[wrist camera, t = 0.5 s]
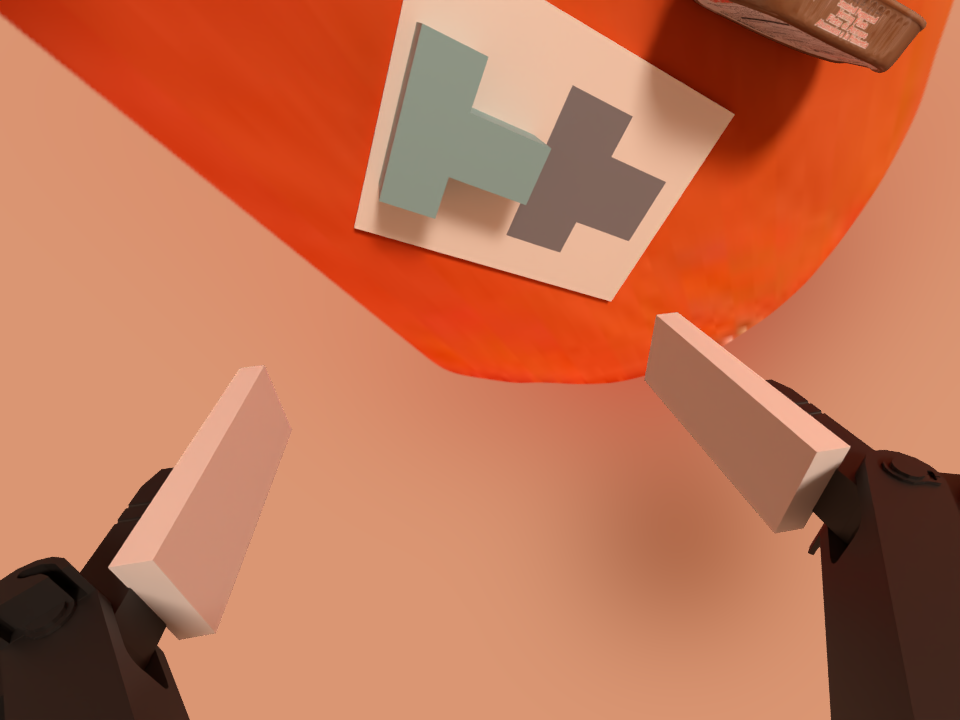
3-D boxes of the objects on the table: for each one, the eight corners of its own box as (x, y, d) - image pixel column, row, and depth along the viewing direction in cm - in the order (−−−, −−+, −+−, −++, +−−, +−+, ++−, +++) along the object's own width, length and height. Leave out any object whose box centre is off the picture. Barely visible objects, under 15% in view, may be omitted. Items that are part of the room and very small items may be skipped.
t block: (416, 21, 25) (422, 23, 22) (553, 90, 29) (573, 99, 26) (378, 182, 30) (379, 201, 28) (497, 222, 34) (509, 242, 31)
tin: (844, 20, 30) (968, 23, 24) (812, 71, 32) (919, 85, 26) (685, -65, 25) (787, -89, 19) (658, 0, 27) (743, -2, 21)
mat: (419, -74, 23) (419, -75, 22) (730, 113, 33) (734, 114, 32) (354, 225, 33) (354, 227, 32) (609, 299, 43) (610, 301, 42)
